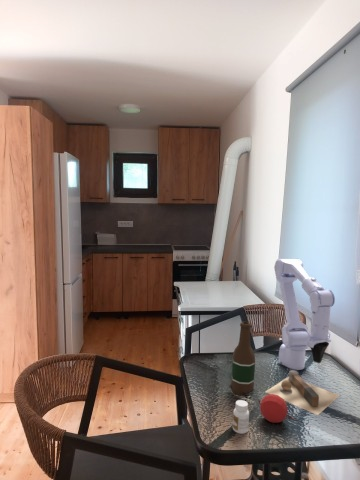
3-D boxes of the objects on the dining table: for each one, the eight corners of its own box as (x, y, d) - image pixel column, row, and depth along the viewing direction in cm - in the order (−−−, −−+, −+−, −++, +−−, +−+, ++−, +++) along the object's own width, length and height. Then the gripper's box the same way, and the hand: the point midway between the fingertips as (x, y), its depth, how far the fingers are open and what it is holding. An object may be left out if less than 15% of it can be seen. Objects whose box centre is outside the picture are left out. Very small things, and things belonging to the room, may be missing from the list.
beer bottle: (255, 388, 123) (259, 321, 121) (250, 399, 116) (254, 328, 114) (234, 383, 126) (237, 317, 124) (227, 393, 119) (231, 324, 117)
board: (264, 396, 119) (265, 381, 118) (289, 380, 131) (290, 366, 130) (317, 420, 106) (318, 404, 106) (339, 399, 118) (340, 385, 118)
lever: (287, 379, 128) (287, 370, 127) (295, 378, 128) (296, 370, 128) (310, 406, 110) (311, 396, 110) (320, 406, 111) (320, 395, 110)
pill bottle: (230, 424, 102) (232, 399, 101) (245, 424, 103) (247, 398, 102) (234, 434, 98) (236, 407, 97) (250, 434, 98) (251, 407, 97)
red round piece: (274, 400, 100) (278, 383, 107) (252, 409, 104) (257, 392, 110) (291, 423, 100) (294, 405, 106) (269, 431, 103) (273, 413, 110)
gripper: (322, 332, 116) (319, 372, 117) (339, 322, 126) (336, 359, 127) (302, 326, 121) (299, 364, 122) (320, 318, 131) (317, 353, 132)
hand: (317, 361), depth 125 cm, fingers closed
